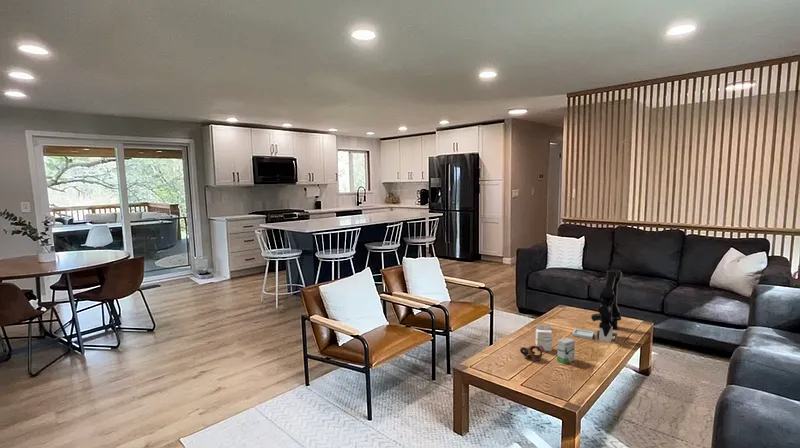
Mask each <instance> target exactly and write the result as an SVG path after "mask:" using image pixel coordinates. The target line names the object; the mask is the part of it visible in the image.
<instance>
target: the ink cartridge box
mask: <svg viewBox="0 0 800 448" xmlns="http://www.w3.org/2000/svg"><path fill="white" fill-rule="evenodd" d="M535 326H536V327H535V342H534V343H535V345H534V346H537V347H539V348H540V349H541V351H542V352H552V351H553V350H552V349H553V331H552V330H551V324H546V323H542V324H540V323H536V325H535ZM535 350H537V351H539V350H538V349H537V348H535ZM539 352H540V351H539Z"/></svg>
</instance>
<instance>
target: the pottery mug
mask: <svg viewBox="0 0 800 448" xmlns="http://www.w3.org/2000/svg"><path fill="white" fill-rule="evenodd" d="M536 348H537V349H538V350H539V353H540V354H536V351H534V350H537V349H536ZM519 352H520V354H522V355H523V356H524V357H527V355H529V356H530V357H531V360H530V361H531V362H532V363H534V362H536V361H539V360H540V359H542V357H543V351H541V349H540V348H539V347H537V346H535V345H531V346H529V347H524V346H522V347H520V349H519Z"/></svg>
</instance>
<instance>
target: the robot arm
mask: <svg viewBox="0 0 800 448" xmlns="http://www.w3.org/2000/svg"><path fill="white" fill-rule="evenodd" d="M622 276H623V272H622V271H621V270H619V269H612V268H611V269H609V270H606V277H607V279H606V283H605V287H603V288H602V289H601V292H600V294H599V300H598V303H600V304H601V305H600V307H599V308H598V313H593V314H591V316H590V317H591V320H592V322H596V321H599V324H598V325H599V326H598V328H599V327H600V328H602V329H603V332H604V336H605V337H606V336H607V334H608V333H609V331H610V329H611V326H613V330H618V329H619V325H618V321H622V314H621V311H620V308H619V306H618V288H619V287H618V285H619V282H620V281H621V280H622Z"/></svg>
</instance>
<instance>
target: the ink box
mask: <svg viewBox="0 0 800 448" xmlns="http://www.w3.org/2000/svg"><path fill="white" fill-rule="evenodd" d="M575 348H576V340H575V339H572V338H570V337H565V338H559V339H558V340H557V356H556V357H557V359H556V360H557V362H560V363H562V364H567V363H571V362H574V361H575V352H576V351H575V350H576V349H575Z"/></svg>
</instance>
